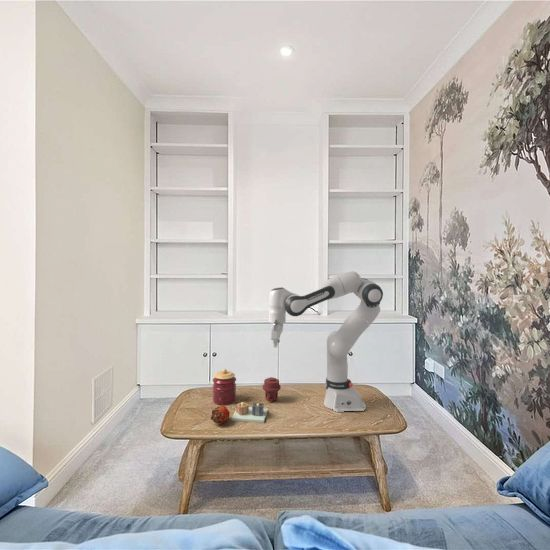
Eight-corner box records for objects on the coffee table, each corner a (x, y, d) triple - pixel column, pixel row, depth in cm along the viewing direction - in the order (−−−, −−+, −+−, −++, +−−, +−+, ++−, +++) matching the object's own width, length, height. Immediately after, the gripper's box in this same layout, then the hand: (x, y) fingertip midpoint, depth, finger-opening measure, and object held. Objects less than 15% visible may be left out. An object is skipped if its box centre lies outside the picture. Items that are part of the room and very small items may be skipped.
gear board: (267, 410, 169) (267, 399, 169) (263, 422, 156) (263, 410, 156) (237, 408, 171) (237, 396, 171) (231, 420, 159) (231, 407, 158)
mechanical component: (280, 396, 187) (280, 404, 177) (263, 396, 187) (262, 403, 177) (280, 375, 187) (280, 382, 177) (263, 375, 187) (262, 381, 177)
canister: (208, 403, 178) (208, 371, 177) (219, 394, 190) (219, 364, 189) (229, 406, 174) (229, 374, 173) (239, 397, 186) (240, 366, 185)
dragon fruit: (216, 432, 150) (220, 423, 162) (231, 421, 151) (234, 412, 163) (206, 416, 151) (210, 409, 163) (221, 405, 152) (224, 398, 164)
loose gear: (263, 411, 166) (263, 402, 165) (262, 416, 161) (262, 407, 160) (254, 410, 166) (254, 402, 166) (252, 415, 161) (252, 406, 161)
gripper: (280, 322, 159) (280, 350, 160) (285, 315, 179) (284, 340, 180) (268, 322, 160) (267, 349, 160) (273, 315, 180) (273, 340, 181)
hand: (276, 344), depth 170 cm, fingers open, 8 cm apart
